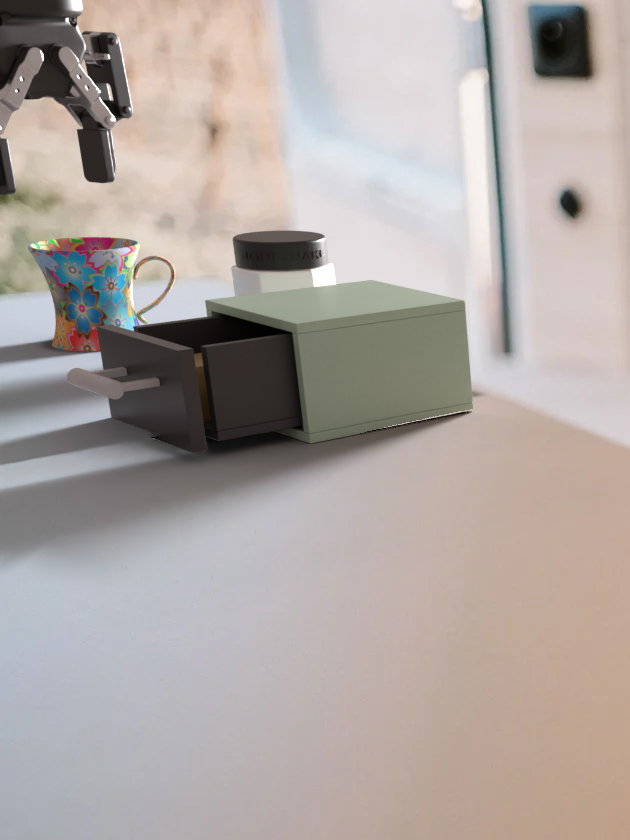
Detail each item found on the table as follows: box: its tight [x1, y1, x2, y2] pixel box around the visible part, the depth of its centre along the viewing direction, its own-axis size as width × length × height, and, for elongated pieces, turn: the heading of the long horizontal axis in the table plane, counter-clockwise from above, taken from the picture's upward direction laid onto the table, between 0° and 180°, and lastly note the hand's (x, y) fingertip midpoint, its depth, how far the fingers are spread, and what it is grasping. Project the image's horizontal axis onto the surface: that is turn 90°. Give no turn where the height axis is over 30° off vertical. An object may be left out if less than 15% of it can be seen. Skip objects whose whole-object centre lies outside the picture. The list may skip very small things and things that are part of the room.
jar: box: [230, 230, 337, 297], centre depth 152 cm, size 9×8×12 cm
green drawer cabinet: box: [204, 279, 474, 444], centre depth 136 cm, size 16×14×10 cm
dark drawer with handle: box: [66, 314, 303, 454], centre depth 128 cm, size 19×12×8 cm, turn 142°
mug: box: [27, 236, 176, 352], centre depth 153 cm, size 12×9×11 cm
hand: (52, 187), depth 115 cm, fingers open, 8 cm apart
